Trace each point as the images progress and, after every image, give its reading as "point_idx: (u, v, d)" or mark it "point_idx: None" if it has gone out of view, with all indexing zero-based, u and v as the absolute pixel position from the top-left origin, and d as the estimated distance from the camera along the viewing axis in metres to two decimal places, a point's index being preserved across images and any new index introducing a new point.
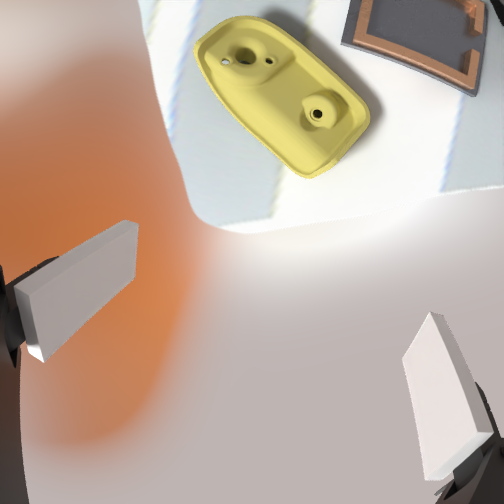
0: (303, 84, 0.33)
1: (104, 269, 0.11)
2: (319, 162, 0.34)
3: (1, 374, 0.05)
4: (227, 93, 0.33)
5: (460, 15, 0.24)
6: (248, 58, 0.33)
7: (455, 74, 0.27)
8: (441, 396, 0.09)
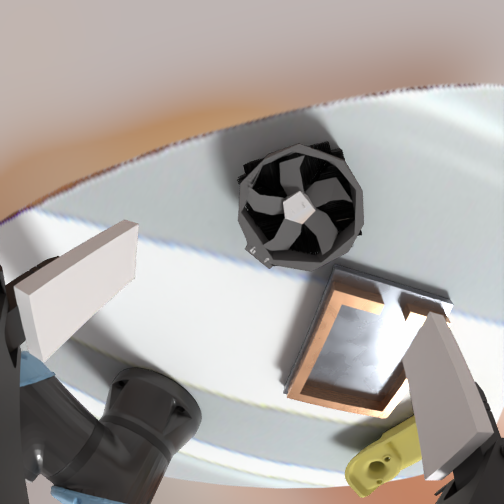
0: (409, 434, 0.36)
1: (104, 269, 0.11)
2: None
3: (1, 374, 0.05)
4: None
5: (353, 312, 0.31)
6: None
7: None
8: (441, 396, 0.09)
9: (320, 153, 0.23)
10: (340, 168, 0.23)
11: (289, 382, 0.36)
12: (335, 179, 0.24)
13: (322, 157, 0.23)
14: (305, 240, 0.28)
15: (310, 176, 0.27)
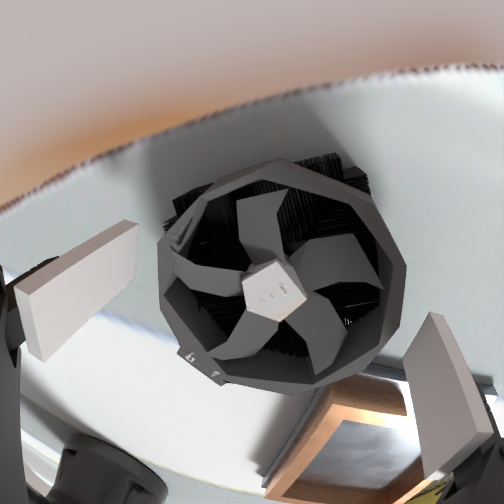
0: None
1: (104, 269, 0.11)
2: None
3: (1, 374, 0.05)
4: None
5: None
6: None
7: None
8: (441, 396, 0.09)
9: (323, 184, 0.10)
10: (365, 219, 0.10)
11: (268, 479, 0.24)
12: (351, 238, 0.12)
13: (327, 193, 0.10)
14: (287, 332, 0.16)
15: (300, 221, 0.14)
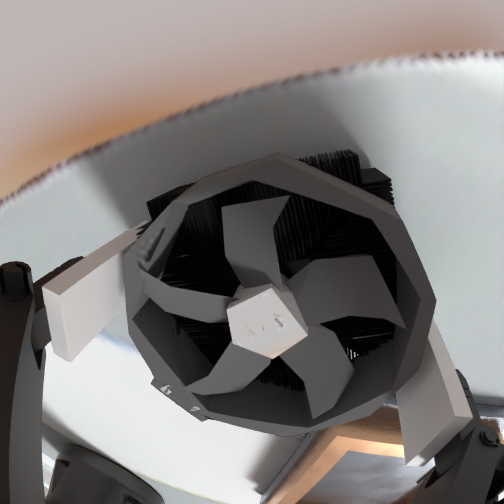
0: None
1: None
2: None
3: (25, 377, 0.06)
4: None
5: None
6: None
7: None
8: (421, 382, 0.09)
9: (338, 191, 0.07)
10: (391, 240, 0.08)
11: (266, 499, 0.22)
12: (369, 261, 0.09)
13: (343, 204, 0.07)
14: (282, 362, 0.13)
15: (304, 233, 0.11)
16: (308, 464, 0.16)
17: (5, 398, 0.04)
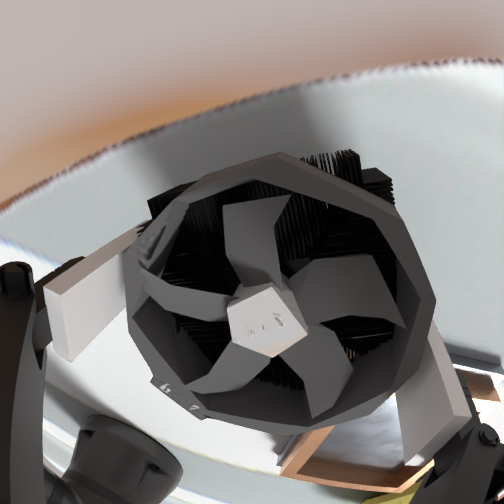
0: None
1: None
2: None
3: (26, 377, 0.06)
4: None
5: None
6: None
7: None
8: (421, 381, 0.09)
9: (339, 191, 0.07)
10: (392, 240, 0.08)
11: (284, 456, 0.26)
12: (369, 261, 0.09)
13: (344, 203, 0.08)
14: (281, 361, 0.13)
15: (304, 232, 0.11)
16: None
17: (6, 398, 0.04)
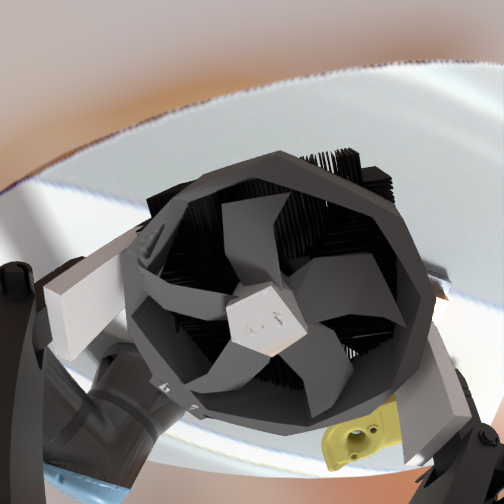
0: None
1: None
2: None
3: (26, 377, 0.06)
4: None
5: None
6: None
7: None
8: (421, 381, 0.09)
9: (338, 189, 0.07)
10: (392, 238, 0.08)
11: None
12: (369, 259, 0.09)
13: (343, 201, 0.07)
14: None
15: (304, 231, 0.11)
16: None
17: (6, 398, 0.04)
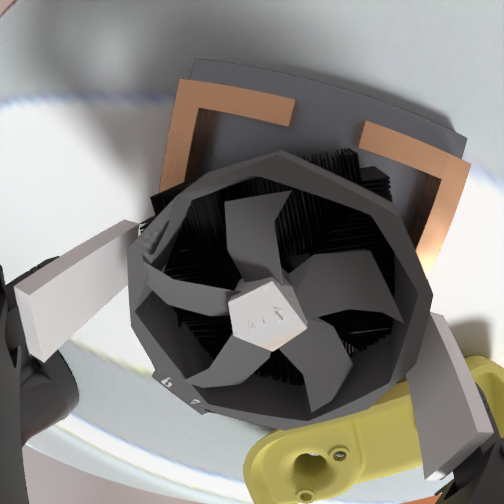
0: (396, 416, 0.19)
1: (104, 269, 0.11)
2: None
3: (1, 374, 0.05)
4: None
5: (243, 146, 0.15)
6: None
7: (441, 217, 0.12)
8: (441, 396, 0.09)
9: (338, 187, 0.08)
10: (389, 235, 0.08)
11: None
12: (367, 256, 0.09)
13: (342, 199, 0.08)
14: (281, 356, 0.13)
15: (304, 229, 0.12)
16: None
17: None
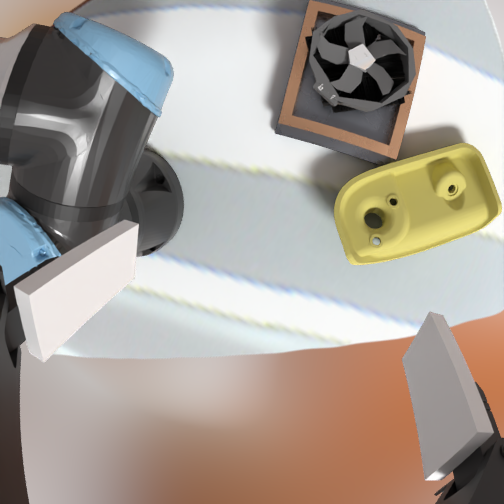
0: (421, 183, 0.33)
1: (104, 269, 0.11)
2: (486, 213, 0.30)
3: (1, 374, 0.05)
4: (393, 252, 0.35)
5: None
6: (368, 212, 0.36)
7: (417, 55, 0.26)
8: (441, 396, 0.09)
9: (379, 17, 0.21)
10: (395, 30, 0.21)
11: None
12: (390, 40, 0.23)
13: (380, 20, 0.21)
14: (362, 94, 0.27)
15: None
16: None
17: None
